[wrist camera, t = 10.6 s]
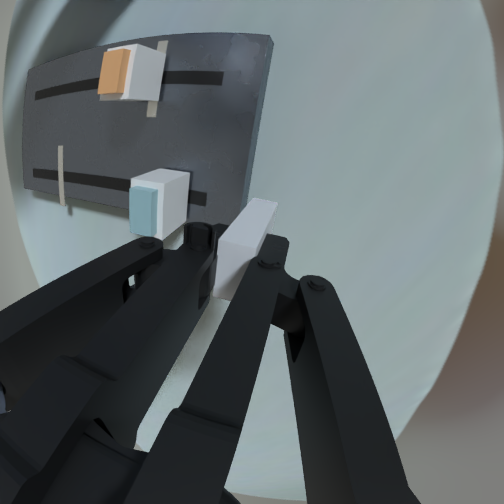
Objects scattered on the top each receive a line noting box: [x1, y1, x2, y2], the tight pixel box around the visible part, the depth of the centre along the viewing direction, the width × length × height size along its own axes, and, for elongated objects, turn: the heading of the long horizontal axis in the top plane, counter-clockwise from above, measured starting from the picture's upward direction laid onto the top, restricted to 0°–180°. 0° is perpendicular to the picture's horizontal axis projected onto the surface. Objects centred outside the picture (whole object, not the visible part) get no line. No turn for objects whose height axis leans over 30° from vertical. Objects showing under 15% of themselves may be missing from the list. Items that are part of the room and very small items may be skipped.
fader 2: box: [129, 168, 190, 240], centre depth 17 cm, size 4×2×4 cm, turn 171°
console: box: [22, 33, 274, 226], centre depth 19 cm, size 15×26×2 cm, turn 81°
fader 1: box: [98, 44, 166, 101], centre depth 13 cm, size 4×2×4 cm, turn 171°
